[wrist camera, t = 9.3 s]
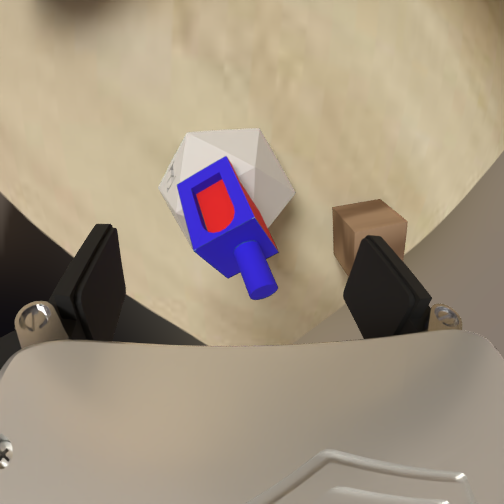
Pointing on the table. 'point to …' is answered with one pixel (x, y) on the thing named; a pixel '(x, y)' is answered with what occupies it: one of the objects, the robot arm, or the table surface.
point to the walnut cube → (366, 229)
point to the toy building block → (228, 227)
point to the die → (243, 161)
